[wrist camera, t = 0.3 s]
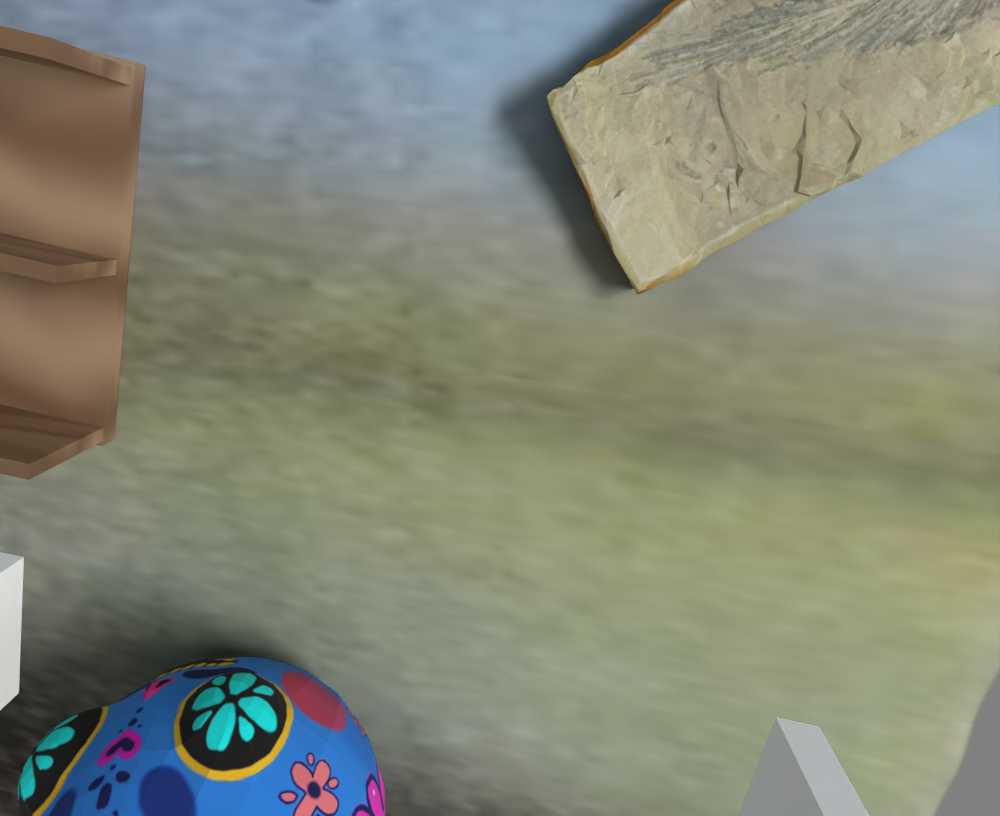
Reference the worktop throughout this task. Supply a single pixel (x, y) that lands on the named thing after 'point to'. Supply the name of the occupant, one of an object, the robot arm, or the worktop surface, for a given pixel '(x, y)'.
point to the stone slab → (762, 113)
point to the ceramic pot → (209, 750)
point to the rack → (63, 244)
